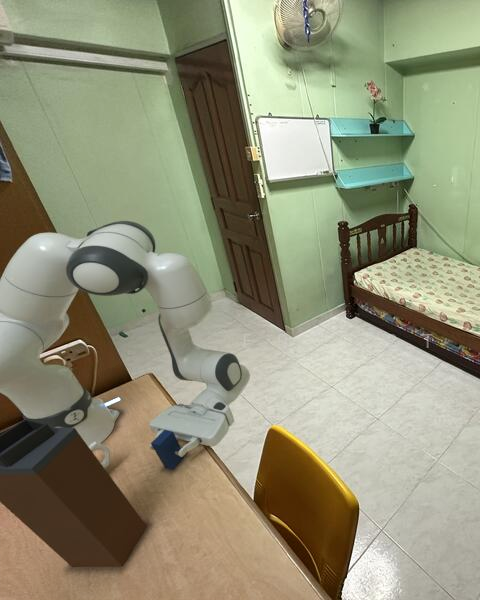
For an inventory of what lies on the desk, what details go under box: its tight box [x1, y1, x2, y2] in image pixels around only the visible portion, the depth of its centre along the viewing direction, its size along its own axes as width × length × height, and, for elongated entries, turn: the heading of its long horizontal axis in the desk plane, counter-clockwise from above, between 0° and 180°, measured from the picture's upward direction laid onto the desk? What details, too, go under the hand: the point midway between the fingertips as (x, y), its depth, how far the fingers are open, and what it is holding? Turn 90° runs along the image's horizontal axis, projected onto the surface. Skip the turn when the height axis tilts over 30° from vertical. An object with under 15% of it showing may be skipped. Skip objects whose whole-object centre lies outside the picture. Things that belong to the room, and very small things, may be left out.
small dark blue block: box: [150, 430, 186, 471], centre depth 79 cm, size 2×4×10 cm, turn 168°
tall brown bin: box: [0, 418, 148, 568], centre depth 57 cm, size 10×7×35 cm
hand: (165, 451), depth 78 cm, fingers open, 6 cm apart
